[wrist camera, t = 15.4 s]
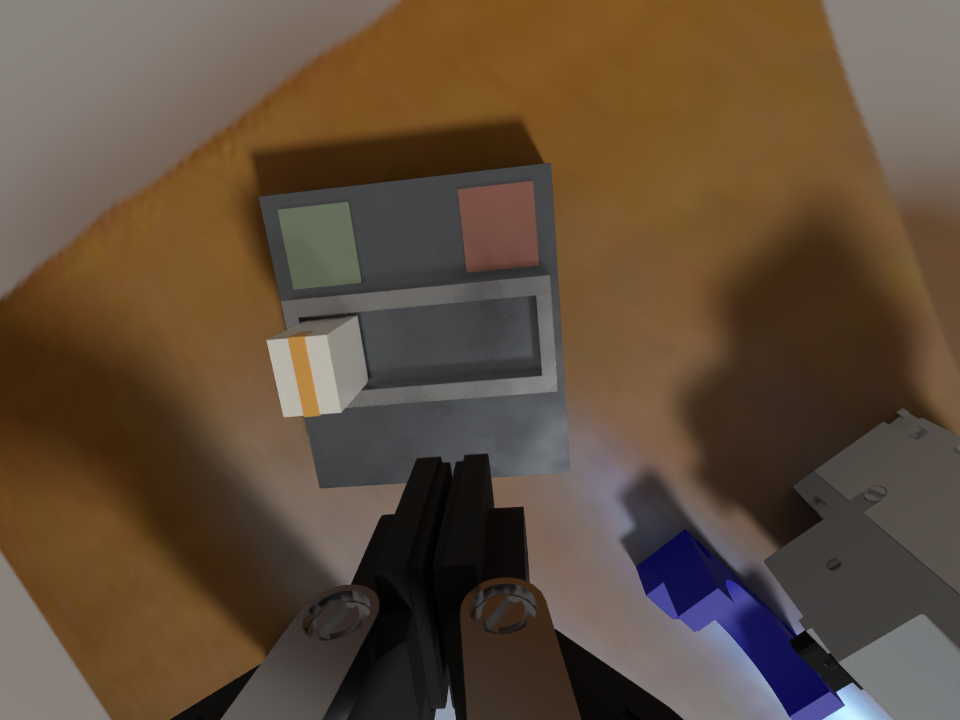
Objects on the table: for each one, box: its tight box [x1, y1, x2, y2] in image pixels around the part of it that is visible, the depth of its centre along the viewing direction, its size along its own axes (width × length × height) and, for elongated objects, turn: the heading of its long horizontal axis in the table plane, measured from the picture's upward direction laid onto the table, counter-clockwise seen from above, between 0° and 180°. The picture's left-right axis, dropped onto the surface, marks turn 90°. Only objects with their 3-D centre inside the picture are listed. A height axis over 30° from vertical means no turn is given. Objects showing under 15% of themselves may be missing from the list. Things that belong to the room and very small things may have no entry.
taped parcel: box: [267, 315, 368, 417], centre depth 27 cm, size 4×3×5 cm
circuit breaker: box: [764, 408, 960, 720], centre depth 27 cm, size 8×14×15 cm, turn 135°
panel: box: [259, 163, 570, 488], centre depth 31 cm, size 18×16×4 cm
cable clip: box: [636, 529, 845, 720], centre depth 34 cm, size 12×4×6 cm, turn 47°
